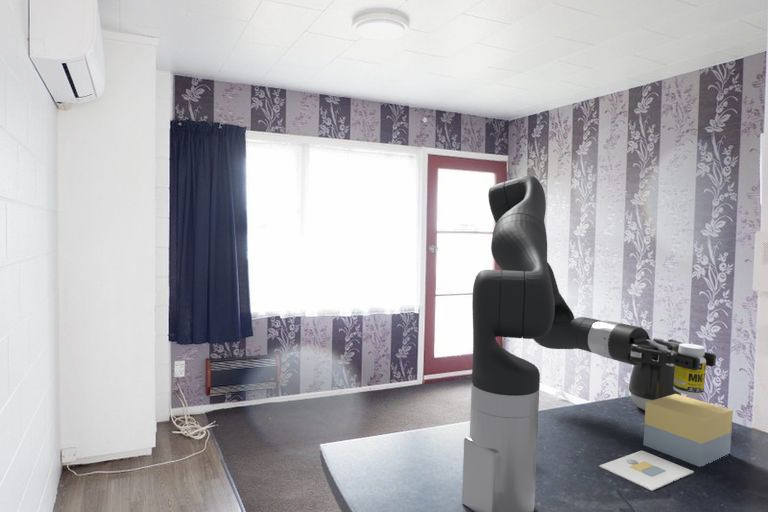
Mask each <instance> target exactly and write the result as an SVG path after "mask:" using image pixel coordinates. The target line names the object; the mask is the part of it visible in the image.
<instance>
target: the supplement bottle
mask: <svg viewBox="0 0 768 512" xmlns="http://www.w3.org/2000/svg"><path fill="white" fill-rule="evenodd" d="M678 352H679V353H681V354H685V355H689V356H694V357H698V358H699V359H700V368H699V369H698V370H691V369H687V368H683V367H679V366H676V364H675V372H674V384H673V389H674V390H675V391H677V392H679V393H681V395H686V396H687V395H688V396H693V397H695V396H696V397H697V396H703V395H704V393H705V380H706V368H707V365H706V359H705V358H704V357H703V356H704V354H705V352H706V350H705V346H703V345H700V344H699V345H698V344H694V343H685V342H682V344H679V351H678Z"/></svg>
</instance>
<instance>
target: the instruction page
mask: <svg viewBox="0 0 768 512" xmlns="http://www.w3.org/2000/svg"><path fill="white" fill-rule="evenodd" d="M599 468H601V469H604V470H605V471H607V472H610V473H612V474H614V475H616V476H618V477H620V478H623V479H625V480H626V481H627V480H628V481H629V482H631V483H633V484H635V485H638V486H640V487H642V488H645V489H646V490H649V491H651V492H653V491H655V490H657V489H660V488H662V487H664V486H667V485H669V484H671V483H674V482H676V481H678V480H681V479H683V478H686V477H687V476H689V475H692V474H694V473H695V471H694V470H691V469H689V468H686V467H684V466H682V465H679V464H676V463H673V462H671V461H669V460H667V459H664V458H662V457H659V456H657V455H654V454H652V453H649V452H647V451H644V450H639V451H636V452H633V453H630V454H628V455H624V456H622V457H620V458H619V457H618V458H617V459H614V460H611V461H607V462H605V463H603V464H600V465H599ZM680 478H681V479H680ZM673 481H674V482H673Z"/></svg>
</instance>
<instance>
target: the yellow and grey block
mask: <svg viewBox="0 0 768 512" xmlns="http://www.w3.org/2000/svg"><path fill="white" fill-rule="evenodd" d="M733 413H734V410H733V409H730V408H726V407H723V406H719V405H716V404H713V403H709V402H705V401H702V400H698V399H695V398H692V397H687V396H685V395H683V394H681V395H678V394H673V395H670V396H666V397H663V398H659V399H655V400H652V401H648V402H646V407H645V412H644V426H643V427H644V428H643V446H645V447H647V448H651V449H653V450H654V451H655V450H656V451H658V452H660V453H663V454H666V455H667V456H671V457H673V458H676V459H678V460H680V461H682V462H683V461H684V462H686V463H688V464H691V465H694V466H696V467H699V468H701V466H702V467H704V466H706V464H707V465H708V463H709V464H711V463H714V462H715V460H716V461H718V460H720V459H722V458H721V457H723V456H725V455H727V454H729V453H730V454H731V446H732V445H731V444H732V428H733V426H732V425H733ZM727 456H728V455H727ZM725 457H726V456H725ZM719 458H720V459H719ZM723 458H724V457H723ZM717 459H718V460H717ZM713 461H714V462H713Z"/></svg>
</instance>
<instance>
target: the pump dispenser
mask: <svg viewBox="0 0 768 512" xmlns="http://www.w3.org/2000/svg"><path fill="white" fill-rule="evenodd" d="M632 366H633V367H632V370H631V374H630V379H629V381H628V382H629V384H628V392H629V393H630V397H631V400H632V402H633V403H634V405H636V406H637V407H638V408H639V409H641V410H642V411H645V407H646V402H648V401H652V400H655V399H659V398H663V397H666V396H670V395H673V394H678V395H682V393H679V392H677V391H675V390H674V389H673V384H674V372H675V366H669V365H666V366H665V367H661V366H658V365H652V364H647V363H640V364H639V365H632Z"/></svg>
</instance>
